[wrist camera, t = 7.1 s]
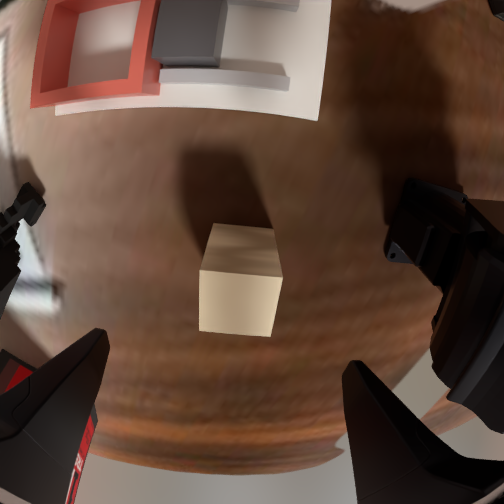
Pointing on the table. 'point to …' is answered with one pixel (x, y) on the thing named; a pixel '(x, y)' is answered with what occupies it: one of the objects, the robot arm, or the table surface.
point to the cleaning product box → (15, 370)
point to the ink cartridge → (497, 8)
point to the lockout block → (239, 281)
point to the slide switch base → (181, 77)
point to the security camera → (5, 230)
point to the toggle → (190, 32)
